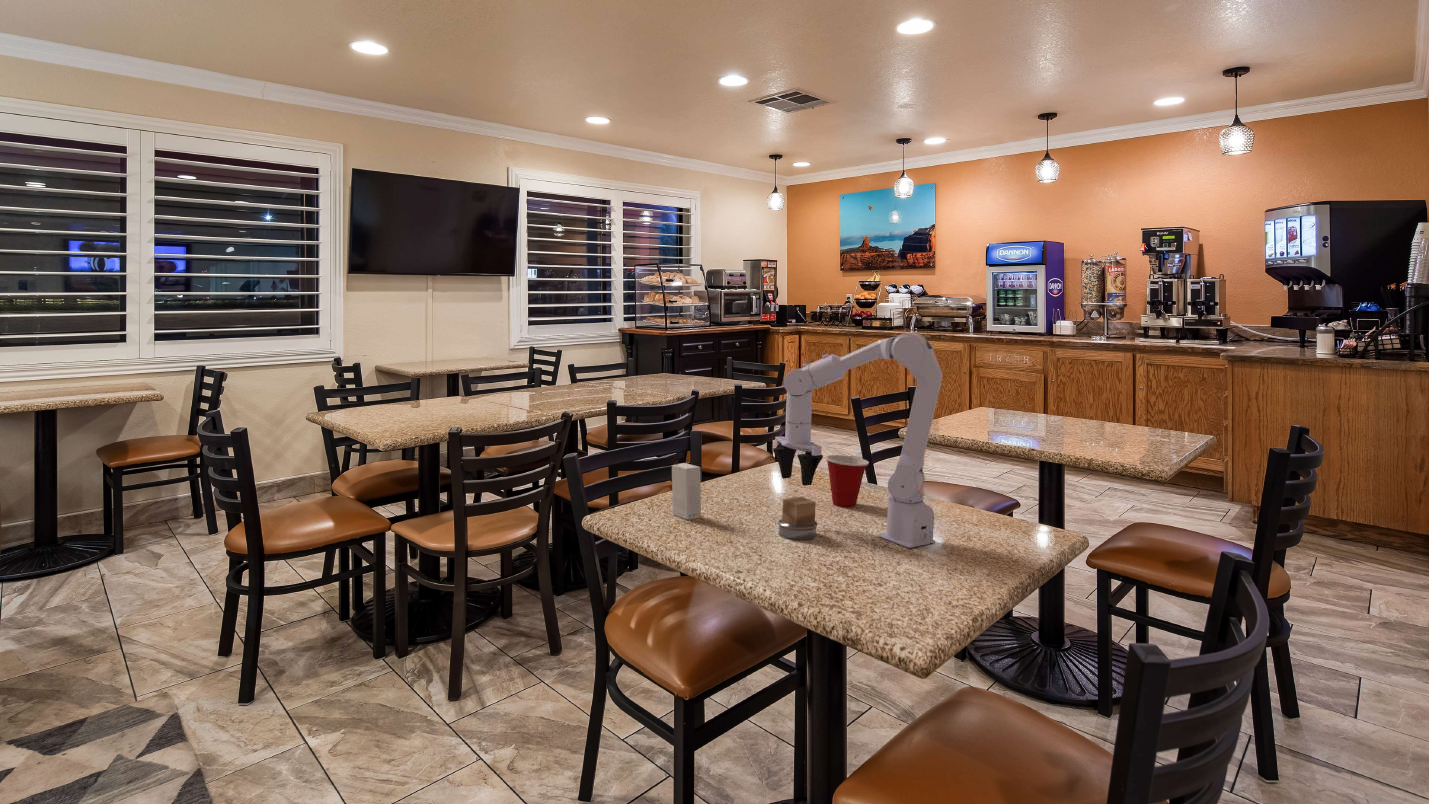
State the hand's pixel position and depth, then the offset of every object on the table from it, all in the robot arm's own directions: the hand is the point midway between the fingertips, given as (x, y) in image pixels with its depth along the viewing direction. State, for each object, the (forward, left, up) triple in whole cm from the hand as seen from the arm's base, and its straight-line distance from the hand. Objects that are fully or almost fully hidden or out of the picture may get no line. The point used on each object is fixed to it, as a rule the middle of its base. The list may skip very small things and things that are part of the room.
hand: (796, 481), depth 169 cm
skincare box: (+17, +19, -10) cm, 27 cm away
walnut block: (-7, +4, -7) cm, 11 cm away
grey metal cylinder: (-7, +4, -10) cm, 13 cm away
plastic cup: (+8, -22, -10) cm, 25 cm away
